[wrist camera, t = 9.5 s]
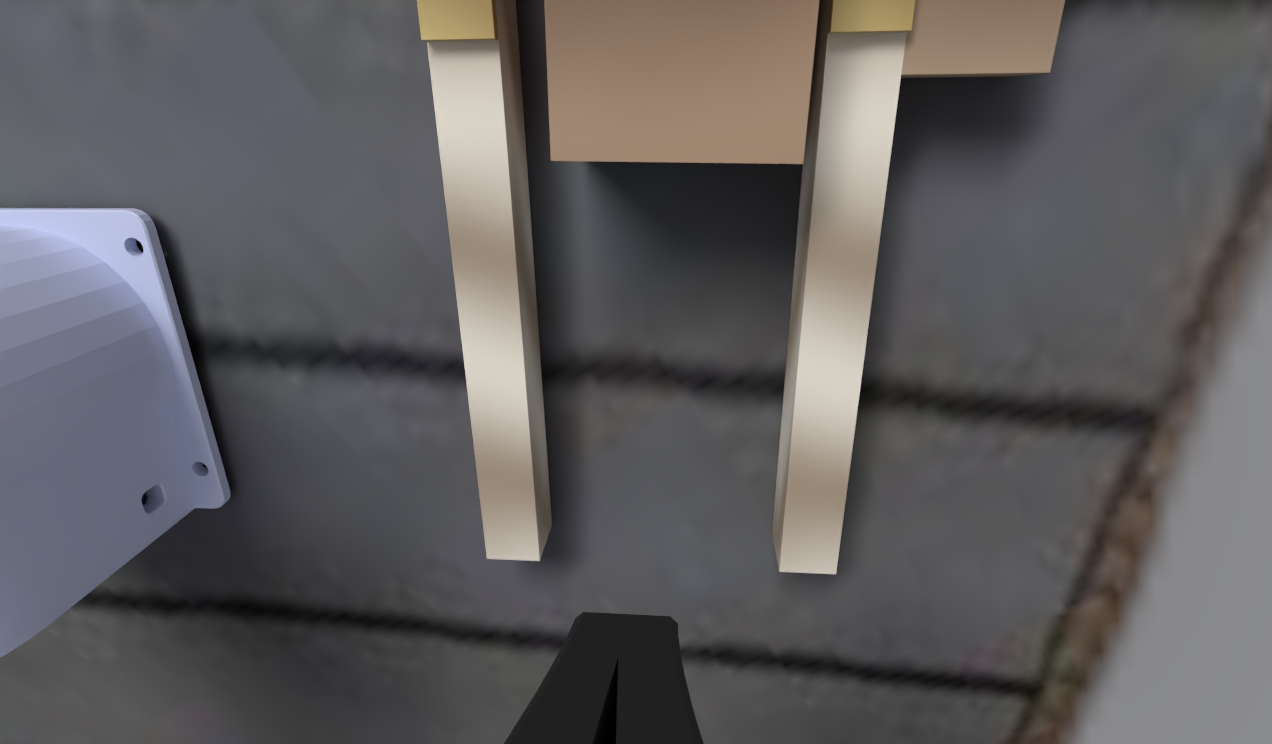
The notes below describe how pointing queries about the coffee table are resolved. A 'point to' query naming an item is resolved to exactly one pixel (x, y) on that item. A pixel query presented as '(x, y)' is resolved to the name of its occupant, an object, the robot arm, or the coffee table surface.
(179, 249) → the coffee table surface
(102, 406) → the robot arm
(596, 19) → the rider block
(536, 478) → the beam slot
